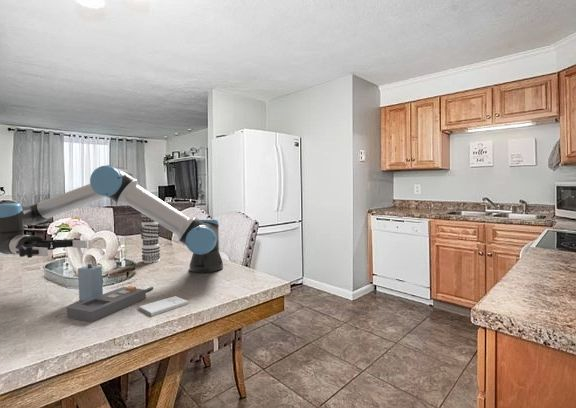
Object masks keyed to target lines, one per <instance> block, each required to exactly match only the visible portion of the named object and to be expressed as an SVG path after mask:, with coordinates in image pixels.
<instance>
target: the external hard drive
mask: <svg viewBox="0 0 576 408" xmlns="http://www.w3.org/2000/svg"><path fill="white" fill-rule="evenodd" d="M188 304H189V301H188V300H186V299H183V298H181V297H179V296H176V295H174V296H172V297H171V296H170V297H168V298H167V297H166V298H163V299H160V300H157V301H154V302H150V303H147V304H144V305H143V304H142V305H140V306H138V310H139V311H141V312H143V313H144V314H146V315H148V316H150V317H153V316H157V315H160V314H162V313H166V312H168V311H171V310H175V309H176V308H180V307H183V306H185V305H188Z"/></svg>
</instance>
